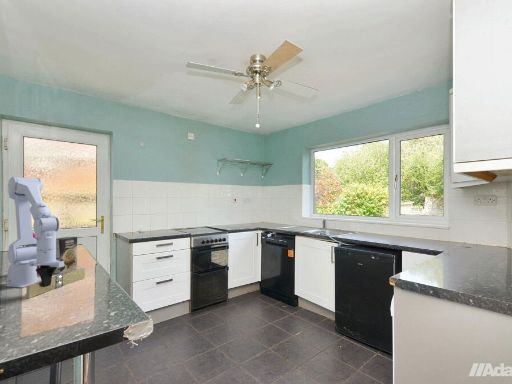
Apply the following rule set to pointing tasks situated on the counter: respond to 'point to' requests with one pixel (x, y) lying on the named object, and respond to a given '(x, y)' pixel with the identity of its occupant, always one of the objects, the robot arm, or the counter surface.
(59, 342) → the counter surface
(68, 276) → the hinge base
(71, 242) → the coffee box
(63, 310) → the counter surface
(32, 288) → the swing leaf
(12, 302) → the counter surface
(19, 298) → the counter surface
